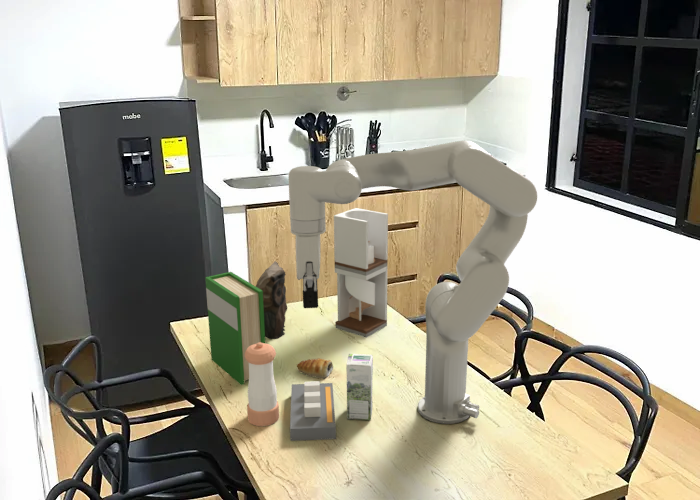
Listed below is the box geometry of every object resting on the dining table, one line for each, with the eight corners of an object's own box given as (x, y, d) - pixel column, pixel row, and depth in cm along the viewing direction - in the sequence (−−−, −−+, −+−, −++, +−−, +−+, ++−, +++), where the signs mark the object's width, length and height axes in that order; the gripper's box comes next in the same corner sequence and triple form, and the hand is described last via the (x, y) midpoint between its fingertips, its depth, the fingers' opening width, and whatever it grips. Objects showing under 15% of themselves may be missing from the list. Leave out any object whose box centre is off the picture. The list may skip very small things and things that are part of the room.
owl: (276, 319, 221) (273, 257, 215) (302, 331, 212) (300, 267, 206) (242, 330, 213) (239, 267, 206) (268, 344, 204) (265, 278, 198)
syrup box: (372, 408, 170) (373, 353, 165) (371, 421, 164) (371, 364, 160) (349, 407, 171) (348, 352, 166) (346, 420, 165) (345, 363, 160)
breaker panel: (292, 395, 176) (291, 384, 175) (332, 393, 177) (332, 382, 176) (290, 440, 157) (290, 428, 156) (335, 438, 158) (335, 426, 157)
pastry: (293, 375, 186) (292, 362, 185) (302, 364, 192) (301, 351, 191) (326, 380, 184) (326, 367, 182) (335, 369, 190) (335, 356, 189)
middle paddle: (304, 401, 166) (304, 392, 165) (320, 400, 166) (319, 391, 165) (304, 405, 165) (304, 396, 163) (320, 405, 165) (320, 395, 164)
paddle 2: (304, 412, 162) (304, 403, 160) (320, 412, 162) (320, 402, 160) (304, 417, 160) (304, 407, 159) (320, 416, 161) (320, 407, 159)
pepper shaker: (283, 422, 164) (279, 346, 158) (252, 429, 162) (247, 352, 156) (274, 407, 171) (271, 334, 165) (244, 413, 168) (240, 339, 162)
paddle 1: (304, 390, 171) (304, 381, 169) (319, 390, 171) (319, 381, 170) (304, 395, 170) (304, 385, 168) (319, 394, 170) (319, 385, 168)
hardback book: (266, 377, 185) (262, 290, 178) (241, 385, 181) (235, 297, 174) (235, 352, 199) (230, 271, 191) (211, 359, 195) (205, 277, 187)
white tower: (335, 328, 214) (333, 215, 203) (356, 316, 222) (356, 207, 211) (366, 337, 207) (366, 221, 197) (386, 325, 216) (387, 213, 205)
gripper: (291, 214, 160) (294, 285, 166) (289, 237, 144) (293, 315, 149) (324, 213, 161) (326, 284, 166) (326, 235, 144) (328, 313, 150)
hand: (310, 299), depth 158 cm, fingers open, 9 cm apart
